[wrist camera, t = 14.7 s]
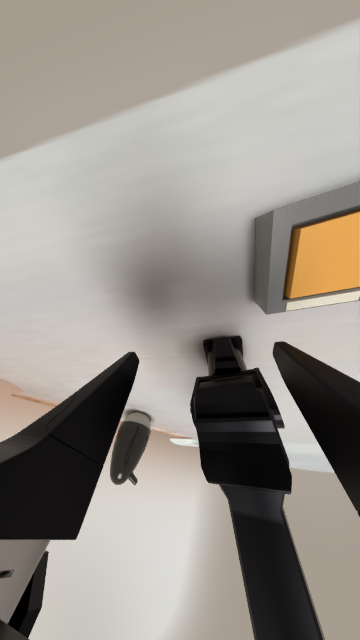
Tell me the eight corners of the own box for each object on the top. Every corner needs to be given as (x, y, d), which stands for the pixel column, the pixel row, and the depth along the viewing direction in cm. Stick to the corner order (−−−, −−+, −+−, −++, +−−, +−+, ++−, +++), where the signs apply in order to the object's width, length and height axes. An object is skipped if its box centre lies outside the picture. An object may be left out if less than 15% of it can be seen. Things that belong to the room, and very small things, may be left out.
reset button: (335, 276, 14) (369, 285, 11) (273, 288, 16) (289, 298, 13) (356, 209, 11) (409, 197, 8) (278, 231, 13) (301, 228, 10)
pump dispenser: (147, 424, 49) (127, 490, 36) (122, 414, 46) (92, 479, 34) (159, 417, 43) (142, 490, 31) (132, 405, 41) (102, 478, 29)
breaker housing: (340, 285, 15) (382, 298, 12) (254, 300, 18) (267, 315, 14) (378, 177, 11) (463, 147, 7) (255, 218, 13) (274, 209, 10)
